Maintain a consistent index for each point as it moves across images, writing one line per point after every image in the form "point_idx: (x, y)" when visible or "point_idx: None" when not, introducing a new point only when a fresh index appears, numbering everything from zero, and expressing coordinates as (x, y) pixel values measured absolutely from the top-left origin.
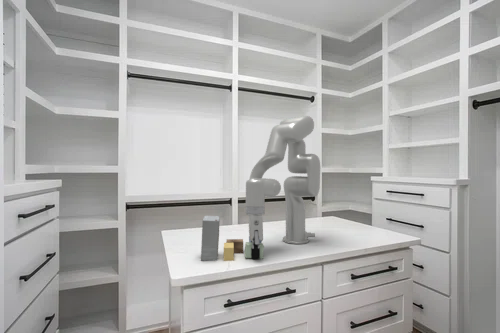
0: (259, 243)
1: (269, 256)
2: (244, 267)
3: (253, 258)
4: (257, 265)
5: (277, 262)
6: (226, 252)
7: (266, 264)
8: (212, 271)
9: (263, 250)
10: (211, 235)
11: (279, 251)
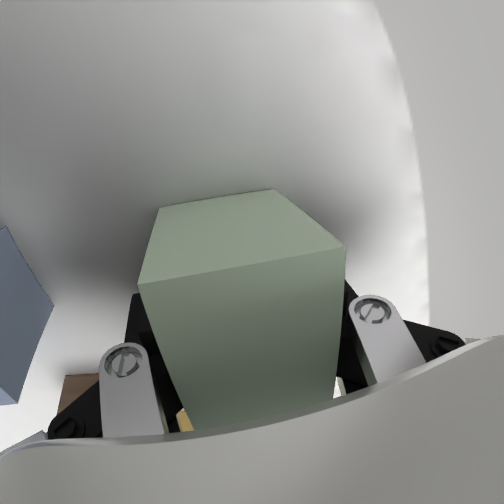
0: (198, 341)
1: (185, 108)
2: (420, 307)
3: None
4: (417, 234)
5: (380, 48)
6: None
7: (414, 161)
8: None
9: (309, 219)
10: None
11: (4, 18)
